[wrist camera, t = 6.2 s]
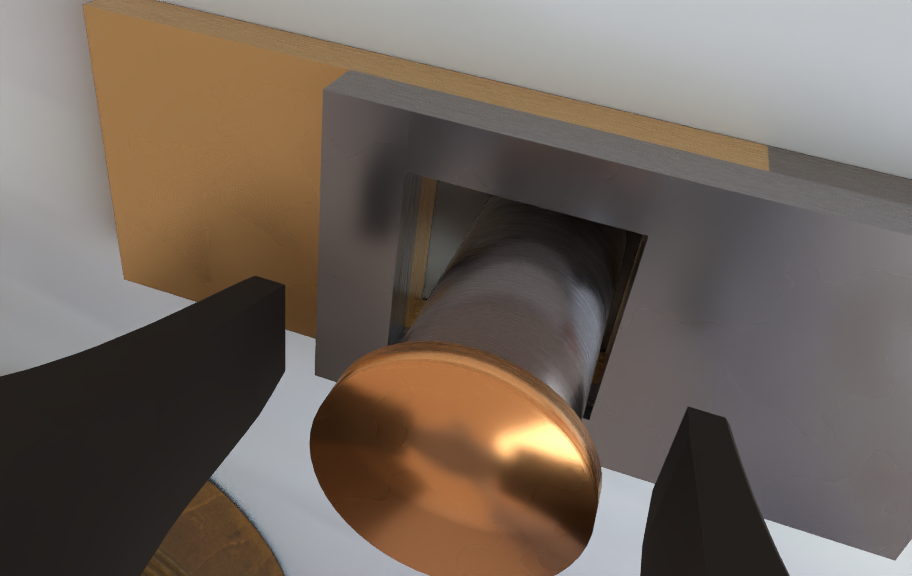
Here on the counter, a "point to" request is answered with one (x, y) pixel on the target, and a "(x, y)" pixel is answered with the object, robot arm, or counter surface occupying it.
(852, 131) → the counter surface
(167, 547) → the brown labelled jar
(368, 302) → the slotted panel plate
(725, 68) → the counter surface
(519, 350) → the pin
